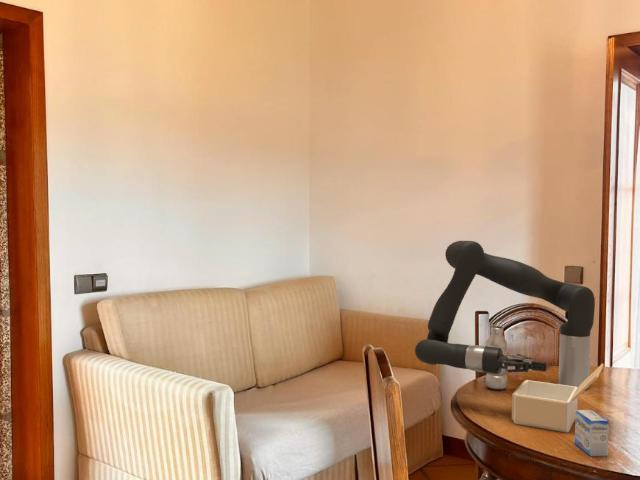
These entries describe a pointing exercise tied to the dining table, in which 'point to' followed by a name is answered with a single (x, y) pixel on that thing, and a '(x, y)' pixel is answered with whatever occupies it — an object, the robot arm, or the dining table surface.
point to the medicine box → (591, 433)
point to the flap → (588, 382)
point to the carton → (544, 405)
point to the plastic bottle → (500, 342)
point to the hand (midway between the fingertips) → (546, 367)
